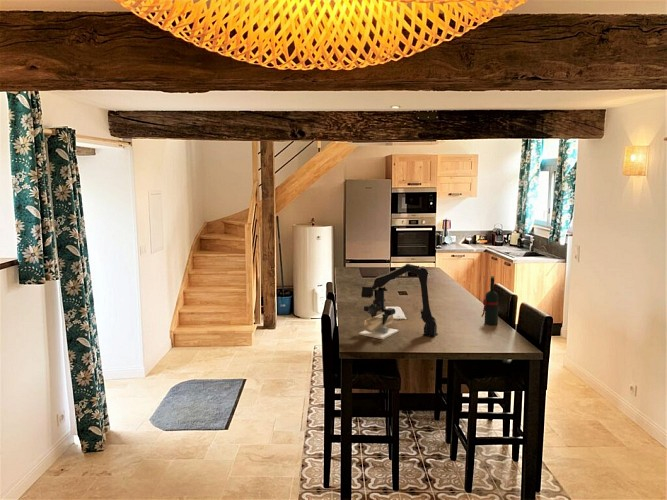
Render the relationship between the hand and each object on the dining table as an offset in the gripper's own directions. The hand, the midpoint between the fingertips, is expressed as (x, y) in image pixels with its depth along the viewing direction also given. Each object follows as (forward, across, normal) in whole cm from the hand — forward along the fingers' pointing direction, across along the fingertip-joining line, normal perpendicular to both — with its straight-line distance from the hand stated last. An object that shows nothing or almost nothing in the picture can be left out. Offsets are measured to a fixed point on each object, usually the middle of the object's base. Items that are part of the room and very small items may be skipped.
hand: (379, 324), depth 299 cm
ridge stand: (+5, 0, 0) cm, 5 cm away
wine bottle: (+6, +45, +56) cm, 72 cm away
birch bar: (+1, 0, 0) cm, 1 cm away
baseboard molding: (+6, -14, +44) cm, 47 cm away
